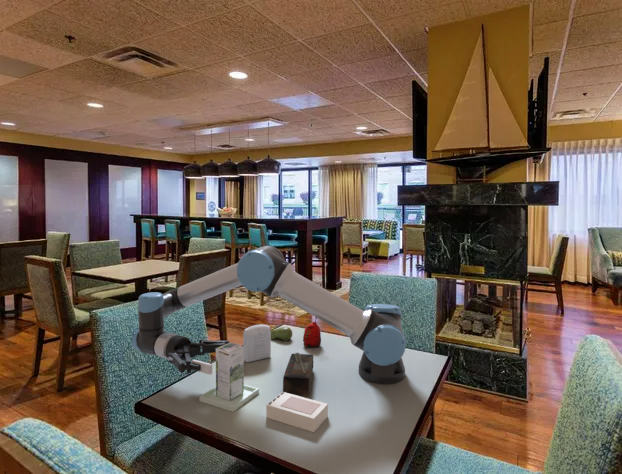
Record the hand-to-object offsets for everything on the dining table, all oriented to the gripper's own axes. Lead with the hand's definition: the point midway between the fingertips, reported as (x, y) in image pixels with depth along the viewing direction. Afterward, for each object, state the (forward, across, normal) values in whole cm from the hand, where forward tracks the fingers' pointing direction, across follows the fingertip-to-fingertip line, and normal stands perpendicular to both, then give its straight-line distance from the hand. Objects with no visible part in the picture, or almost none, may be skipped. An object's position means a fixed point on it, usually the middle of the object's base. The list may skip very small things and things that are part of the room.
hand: (227, 360), depth 111 cm
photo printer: (-9, -27, -11) cm, 31 cm away
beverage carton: (+13, -18, -12) cm, 25 cm away
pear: (-13, -49, -11) cm, 52 cm away
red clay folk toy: (+2, -48, -11) cm, 50 cm away
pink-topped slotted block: (+23, 0, -11) cm, 25 cm away
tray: (0, -1, -11) cm, 11 cm away
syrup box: (0, -1, -11) cm, 11 cm away
